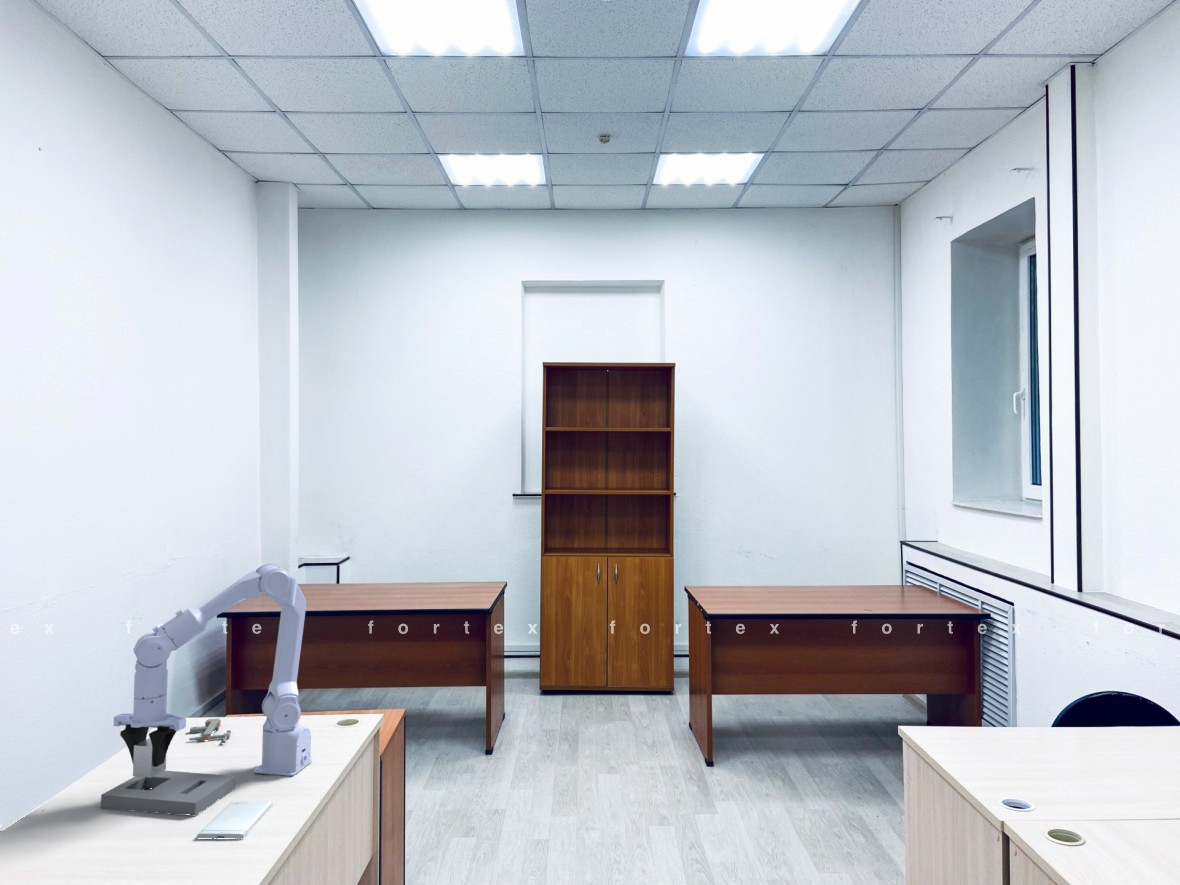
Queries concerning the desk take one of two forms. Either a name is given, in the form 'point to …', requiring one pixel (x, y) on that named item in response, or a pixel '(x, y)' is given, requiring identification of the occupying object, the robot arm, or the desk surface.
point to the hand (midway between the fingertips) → (148, 763)
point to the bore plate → (169, 792)
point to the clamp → (210, 731)
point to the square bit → (145, 760)
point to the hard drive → (236, 819)
